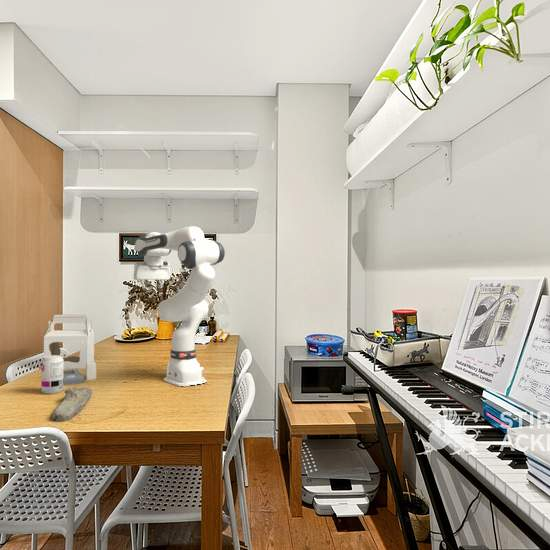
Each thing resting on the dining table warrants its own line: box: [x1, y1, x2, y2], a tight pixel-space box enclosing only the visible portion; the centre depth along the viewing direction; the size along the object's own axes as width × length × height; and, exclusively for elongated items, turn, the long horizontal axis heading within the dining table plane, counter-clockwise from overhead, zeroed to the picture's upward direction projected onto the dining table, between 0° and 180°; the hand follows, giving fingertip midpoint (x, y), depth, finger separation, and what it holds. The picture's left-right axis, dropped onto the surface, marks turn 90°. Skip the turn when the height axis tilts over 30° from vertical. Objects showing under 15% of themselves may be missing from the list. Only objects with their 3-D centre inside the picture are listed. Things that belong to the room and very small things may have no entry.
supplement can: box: [40, 354, 65, 395], centre depth 181 cm, size 8×8×15 cm
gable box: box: [43, 314, 95, 370], centre depth 229 cm, size 22×13×28 cm, turn 99°
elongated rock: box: [52, 386, 93, 422], centre depth 163 cm, size 35×5×10 cm
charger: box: [85, 361, 97, 381], centre depth 204 cm, size 4×4×8 cm
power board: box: [63, 369, 85, 386], centre depth 203 cm, size 22×10×2 cm, turn 33°
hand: (152, 288), depth 227 cm, fingers open, 8 cm apart
